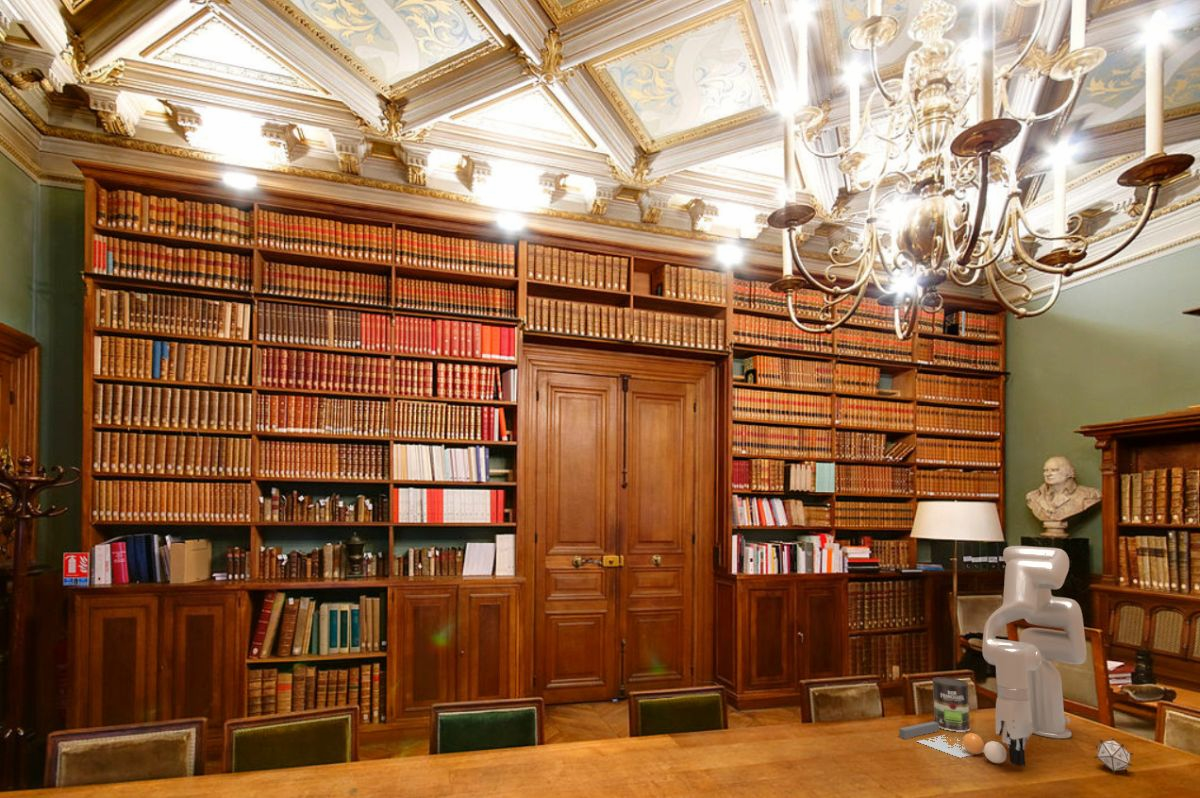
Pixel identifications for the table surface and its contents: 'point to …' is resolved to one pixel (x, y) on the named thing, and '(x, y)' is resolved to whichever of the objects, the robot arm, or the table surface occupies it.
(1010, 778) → the table surface
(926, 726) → the bar
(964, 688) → the coffee can
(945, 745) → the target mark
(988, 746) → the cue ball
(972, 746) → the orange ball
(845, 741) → the table surface
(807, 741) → the table surface
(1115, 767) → the game die
